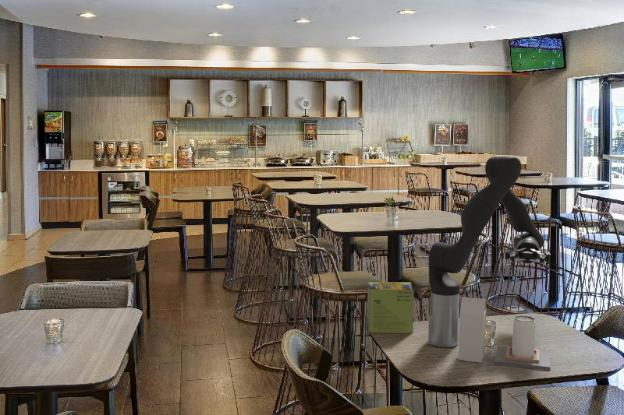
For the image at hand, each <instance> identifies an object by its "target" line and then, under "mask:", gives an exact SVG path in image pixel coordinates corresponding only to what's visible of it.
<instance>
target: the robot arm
mask: <svg viewBox="0 0 624 415" xmlns="http://www.w3.org/2000/svg"><path fill="white" fill-rule="evenodd" d="M521 171H522V162H521V160H520V159H519V158H518V157H517V156H512V155H501V156H491V157H489V158H488V159H487V160H486V162H485V167H484V173H485V176H486V178H487V180H488V182H489V184H488V185H486V186H484V187H483V188H482V189H480V190H478V192H476V193H474V194H473V195H472V196H471V197H470V198H469V200H468V201H467V202H466V204H465V206H464V208H463V209H462V211H461V214H460V223H461V230H462V231H461V235H460V237H459V239H458V241H457V242H456V243H455V244H452V243H447V242H438V241H437V242H435V243H433V244H432V246H430V249H429V251H428V252H429V254H428V284H429V286H430V302H429V303H430V304H429V316H428V334H427V335H428V336H427V337H428V338H427V339H428V340H427V341H428V342H427V345H431V346H435V347H439V348H454V347H456V346H458V345H459V324H460V284H459V283H458V282H457V281H456V280H454V279H453V278H452V277H451V276H450V275H449V274H458V273H460V272H461V271H462V270H463V269H464V268H465V266H466V264H467V262H468V260H469V258H470V256H471V254H472V251H473V250H474V247H475V245H476V243H477V241H478V240H479V238H480V236H481V234H482V232H483V231H484V229H486V227H487V225H488V224H489V222H490V221H491V219H492V216H493V215H494V213H495V212H496V210H497V208H498V207H499V205H500V203H502V205H503V207H504V209H505V212H506V214H507V216H508V220H509V222H510V224H511V227H512V229H513V231H514V232H517V233H519V234H517V235H516V236H515V237H514V238H513V242H512V243H513V247H514V248H515V250H514V251H512V249H510V248H506V250H505V254H504V260H509V259H510V260H509V261H510V262H512V263H515V261H518V262H519V261H520V262H521V263H523V264H528V265H529V264H533V263H539V264H540V265H542V264H543V263H545V262H547V263H551V253H550V251H548V250H547V251H544V252H541V251H540V250H541V249H542V248H543V246H544V244H545V240H544V236H543V235H542V233H541V232H540V231H539V230H538V229H537V226H535V225H534V223H533V221H532V218H531V215H530V214H529V213H530V212H529V211H528V209H527V207H526V204H525V203H524V202H523V200H521V198H520V197H518V196H517V195H516V194H515V192H514V191H513V190H512V187H514V186H515V183H516V182H517V181H518V179H519V178H520V175H521V173H522V172H521Z"/></svg>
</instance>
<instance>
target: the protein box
mask: <svg viewBox="0 0 624 415" xmlns="http://www.w3.org/2000/svg"><path fill="white" fill-rule="evenodd" d="M414 297H415V289H414V287H413V285H412V282H408V281H407V282H399V281H398V282H396V281H395V282H394V281H393V282H390V281H385V282H381V281H379V282H378V281H376V282H375V281H373V282H372V281H371V282H369V281H368V282H367V314H366V315H367V318H366V319H367V320H366V322H367V323H366V324H367V325H366V326H367V331H368V333H370V334H371V333H373V334H374V333H375V334H380V333H381V334H413V333H414V300H415V298H414Z"/></svg>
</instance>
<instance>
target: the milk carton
mask: <svg viewBox="0 0 624 415" xmlns="http://www.w3.org/2000/svg"><path fill="white" fill-rule="evenodd" d="M486 301H487V300H486V298H477V297H465V296H462V297H461V302H460V308H459V323H458V357H457V358H458V360H459V361H465V362H473V363H475V362H476V363H481V364H482V363H483V361H484V358H485V355H486V354H485V352H486V328H487V324H486V323H487V304H486Z"/></svg>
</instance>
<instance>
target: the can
mask: <svg viewBox="0 0 624 415" xmlns="http://www.w3.org/2000/svg"><path fill="white" fill-rule="evenodd" d="M512 324H513V325H512V346H511V347H512V355H513V356H514V357H522V358H533V357H534V349H535V342H536V322H535V318H534V317H533V316H528V315H516V316H515V317H514V320H513V323H512Z"/></svg>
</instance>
